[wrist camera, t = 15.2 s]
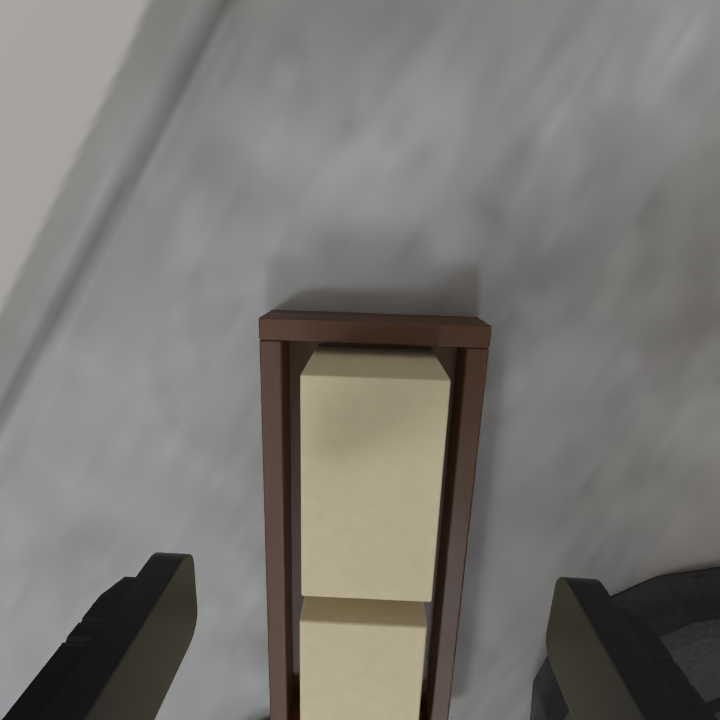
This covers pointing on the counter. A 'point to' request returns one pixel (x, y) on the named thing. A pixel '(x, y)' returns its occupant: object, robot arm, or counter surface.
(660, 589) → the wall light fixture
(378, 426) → the pad
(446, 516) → the frame
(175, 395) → the counter surface
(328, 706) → the pad
